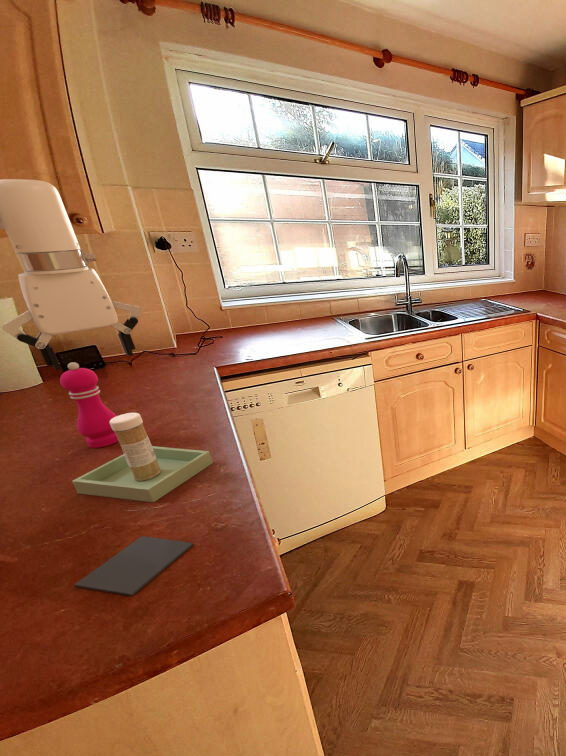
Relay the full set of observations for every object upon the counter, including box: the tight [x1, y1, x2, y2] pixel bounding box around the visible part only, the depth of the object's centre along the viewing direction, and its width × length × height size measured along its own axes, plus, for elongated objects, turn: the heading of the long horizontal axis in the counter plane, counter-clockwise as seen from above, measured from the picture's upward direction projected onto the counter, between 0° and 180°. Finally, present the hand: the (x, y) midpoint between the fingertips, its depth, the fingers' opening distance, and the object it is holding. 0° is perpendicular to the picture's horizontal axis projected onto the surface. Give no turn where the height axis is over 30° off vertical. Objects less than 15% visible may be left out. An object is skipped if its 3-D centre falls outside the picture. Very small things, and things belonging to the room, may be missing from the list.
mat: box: [74, 535, 195, 597], centre depth 65 cm, size 10×10×1 cm
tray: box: [71, 445, 214, 503], centre depth 86 cm, size 18×14×3 cm
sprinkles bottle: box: [110, 412, 162, 481], centre depth 84 cm, size 5×5×14 cm
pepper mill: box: [59, 362, 119, 449], centre depth 97 cm, size 7×7×20 cm
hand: (95, 361), depth 76 cm, fingers open, 9 cm apart
